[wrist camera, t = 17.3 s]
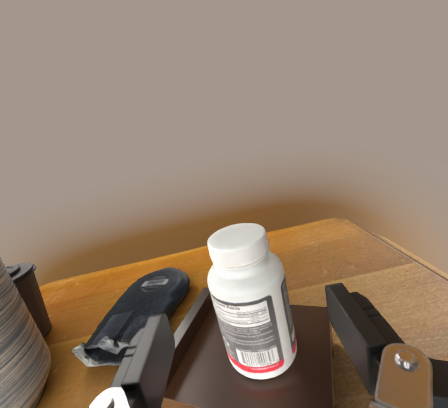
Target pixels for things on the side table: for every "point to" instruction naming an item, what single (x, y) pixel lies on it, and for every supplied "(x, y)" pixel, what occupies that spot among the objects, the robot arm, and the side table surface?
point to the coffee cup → (30, 294)
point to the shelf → (238, 383)
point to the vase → (20, 350)
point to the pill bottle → (251, 301)
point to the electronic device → (133, 315)
